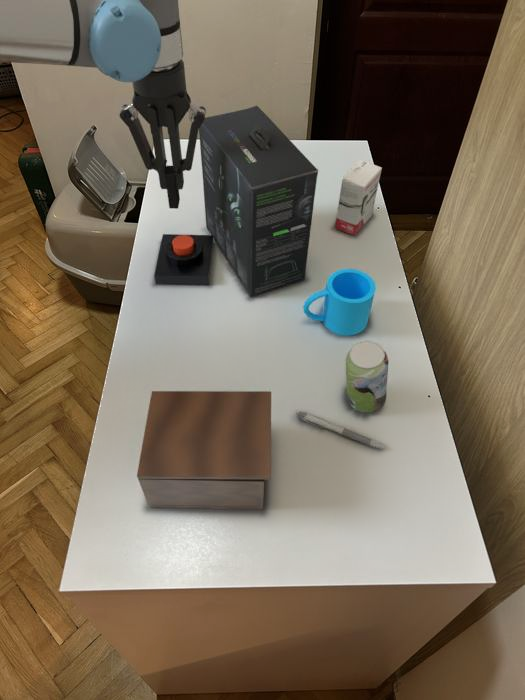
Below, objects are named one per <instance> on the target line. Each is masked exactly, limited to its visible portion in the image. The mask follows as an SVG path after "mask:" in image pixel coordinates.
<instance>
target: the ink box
mask: <svg viewBox="0 0 525 700" xmlns="http://www.w3.org/2000/svg"><path fill="white" fill-rule="evenodd" d="M382 169H383V167H381V166H379V165H376V164H373V163H371V162H368V161H366V160H362V159H360V160H358V161H357V162H356V163H355V164H354V166H352V167H351V168H350V169H349V170H348V171H347V173H346V174H345V175H344V176H342V177H343V178H342V180H341V185H340V193H339V197H338V198H339V199H338V205H337V213H336V218H335V224H334V229H336V230H339V231H341V232H343V233H346V234H348V235H351V236H356V235H357V233H358V232H359V231H360V230H361V229H362V228H363V226H364V225H365V224H366V223H367V222H368V221H369V220H370V218H371V217H372V216H373V211H374V207H375V203H376V199H377V198H376V197H377V193H378V188H379V182H380V178H381V174H382Z"/></svg>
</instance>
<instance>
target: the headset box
mask: <svg viewBox="0 0 525 700" xmlns="http://www.w3.org/2000/svg"><path fill="white" fill-rule="evenodd" d="M198 135H199V146H200V159H201V171H202V184H203V187H202V188H203V198H204V199H203V200H204V214H205V215H204V216H205V227H206V228H205V229H207V231H208V232H209V235H213V241H214V243H216V245H217V247H218V249H219V250H220V252H221V253H222V254H223V256H224V258H225V259H226V261H227V263H228V264H229V266H230V268H231V270H232V271H233V272H234V274H235V275H236V277H237V278H238V280H239V281H240V283H241V285H242V286H243V288H244V290H245V291H246V293H247V295H248V296H249V298H253V297H257V296H259V295H263V294H266V293H270V292H272V291H275V290H279V289H282V288H284V287H287V286H290V285H293V284H296V283H300V282H303V281H305V280H306V271H307V263H308V255H309V246H310V238H311V231H312V222H313V213H314V205H315V204H314V203H315V197H316V189H317V181H318V176H319V175H318V174H319V169H318V168H317V167H316V166H315V165H314V164H313V163H312V162H311V161H310V160H309V159H308V158H307V156H305V154H303V152H301V150H300V149H299V148H298V147H297V146H296V145H295V144H294V143H293V142H292V141H291V140H290V139H289V137H288V136H287V135H285V133H284V132H283V131H282V130H281V129H280V128H279V127H278V126H277V124H276V123H275V122H274V121H272V119H271V118H270V117H269V116H268V115H267V114H266V113H265V112H264V111H263V110H262V109H261V107H259V105H254V106H251V107H247V108H246V107H245V108H241V109H238V110H233V111H228V112H224V113H219V114H216V115H211V116H205V119H204V121H203V123H202V124H201V126H200V128H199V129H198Z"/></svg>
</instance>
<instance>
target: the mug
mask: <svg viewBox="0 0 525 700" xmlns="http://www.w3.org/2000/svg"><path fill="white" fill-rule="evenodd" d="M376 290H377V287H376V282H375V280H374V279H373V277H372V276H370V275H369V274H367V272H364V271H362V270H359V269H355V268H343V269H339V270H336V271H334V272H332V273H331V274H330V275H329V276H328V278H327V281H326V287H325V289H322V290H319V291H316V292H314V293H313V294H312V295H309V297H308V298H307V299H305V301H304V303H303V306H302V309H303V314H304V315H306V317H307V318H308V319H311V320H314V321H322V323H323V324H324V326H325V327H326V328H327V329H328V330H329V331H330V332H332V333H334V334H336V335H339V336H342V337H343V336H351V337H352V336H355V335H358V334H360V333H362V332H363V331H364V330H365V329H366V328H367V325H368V322H369V318H370V314H371V310H372V305H373V301H374V298H375V294H376ZM323 297H324V300H323V306H322V311H321V312H322V313H321V314H318V313H313V312H311V311H310V309H309V308H310V306H311V305H312V304H313V303H314V302H315V301H316V300H318V299H320V298H323Z"/></svg>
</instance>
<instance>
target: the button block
mask: <svg viewBox="0 0 525 700" xmlns="http://www.w3.org/2000/svg"><path fill="white" fill-rule="evenodd" d="M180 235H181V234H175V233H174V234H173V233H172V234H171V233H170V234H169V233H168V234H167V233H163V234H162V235H161V241H160V246H159V250H158V254H157V255H158V256H157V261H156V264H155V265H156V266H155V270H154V275H153V276H154V282H155V285H174V286H178V285H179V286H210V280H211V279H210V278H211V270H212V262H213V255H214V254H213V252H214V245H215V241H214V239H213V235H211V234H186V235H187V236H190V237H192V238H193V240H194V251H193V253H191V254H188V255H177V254H175V253H174V251H173V245H172V241H173V239H174V238H175V237H177V236H180Z"/></svg>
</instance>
